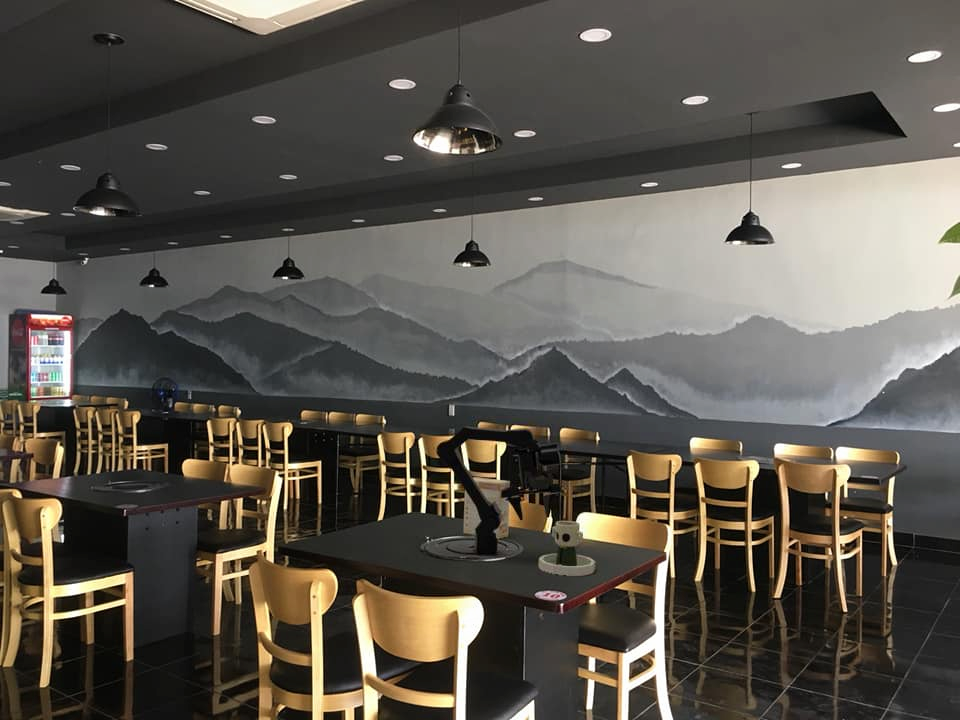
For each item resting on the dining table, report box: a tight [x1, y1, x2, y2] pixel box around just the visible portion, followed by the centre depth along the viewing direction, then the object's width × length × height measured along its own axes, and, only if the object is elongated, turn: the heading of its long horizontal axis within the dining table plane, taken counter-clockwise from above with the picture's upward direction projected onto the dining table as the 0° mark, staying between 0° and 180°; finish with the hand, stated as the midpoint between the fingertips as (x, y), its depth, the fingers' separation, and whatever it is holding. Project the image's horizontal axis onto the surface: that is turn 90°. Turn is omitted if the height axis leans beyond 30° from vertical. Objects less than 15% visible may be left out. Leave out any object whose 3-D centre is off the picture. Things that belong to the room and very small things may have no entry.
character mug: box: [551, 520, 584, 566], centre depth 223 cm, size 11×7×13 cm, turn 48°
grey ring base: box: [538, 553, 596, 577], centre depth 223 cm, size 16×16×2 cm
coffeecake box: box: [462, 476, 511, 540], centre depth 266 cm, size 15×7×20 cm, turn 54°
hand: (534, 518), depth 234 cm, fingers open, 9 cm apart
